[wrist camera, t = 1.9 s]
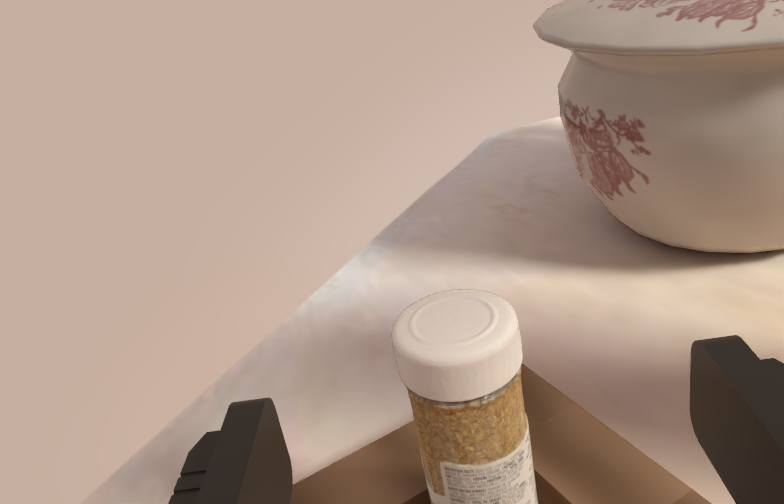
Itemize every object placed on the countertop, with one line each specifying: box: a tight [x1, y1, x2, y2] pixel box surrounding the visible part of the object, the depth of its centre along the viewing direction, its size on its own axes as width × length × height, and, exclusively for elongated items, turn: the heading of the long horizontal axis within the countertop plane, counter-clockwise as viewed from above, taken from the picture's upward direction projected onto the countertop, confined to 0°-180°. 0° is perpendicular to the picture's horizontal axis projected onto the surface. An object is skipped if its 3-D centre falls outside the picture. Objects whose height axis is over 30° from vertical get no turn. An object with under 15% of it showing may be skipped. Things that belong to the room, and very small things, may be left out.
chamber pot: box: [533, 0, 784, 253], centre depth 50 cm, size 28×28×21 cm
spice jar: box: [392, 289, 538, 504], centre depth 27 cm, size 5×5×14 cm
